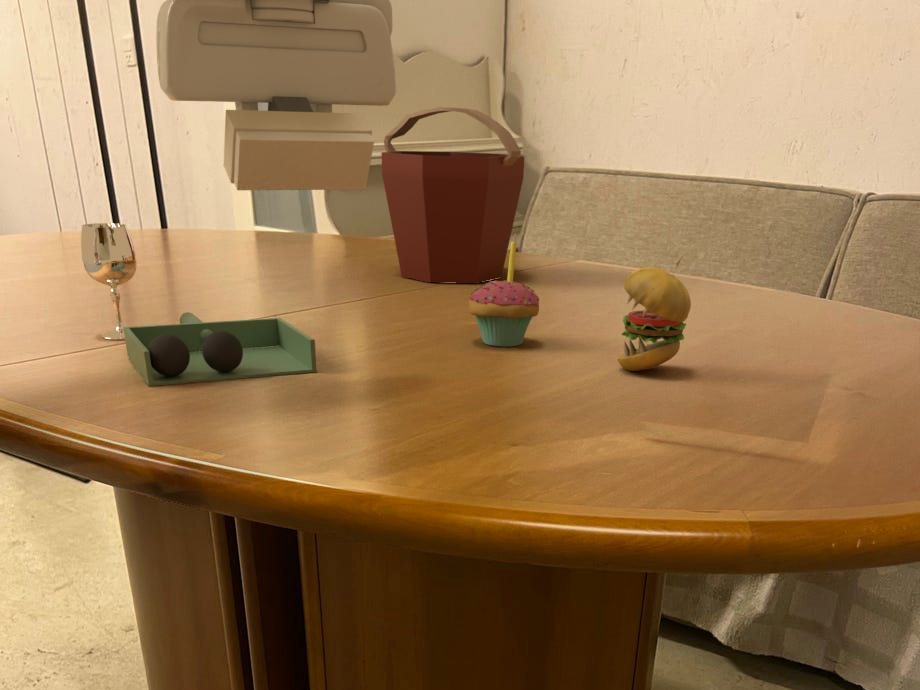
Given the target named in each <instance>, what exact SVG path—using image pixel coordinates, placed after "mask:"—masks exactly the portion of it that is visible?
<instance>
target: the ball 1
mask: <svg viewBox="0 0 920 690" xmlns="http://www.w3.org/2000/svg"><path fill="white" fill-rule="evenodd" d="M148 351H149V354H150V361H151V366H152V368H153V369H154V370H155V371H156V372H158V373H159V374H161V375H164V376H169V377H172V376H177V375H179V374H181V373H183V372H184V371H185V370H186V368H187V367H188V365H189V361H190V354H189V353H190V352H189V350H188V348H187V346H186V344H185V343H184V342H183V341H182V340H181V339H179V338H178V337H176V336H173V335H169V334H164V335H160V336H158V337H156V338H154V339H153V340H152V341H151V343H150V344H149V347H148Z"/></svg>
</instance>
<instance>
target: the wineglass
mask: <svg viewBox="0 0 920 690" xmlns="http://www.w3.org/2000/svg"><path fill="white" fill-rule="evenodd" d="M80 236H81V237H80V251H81V260H82V263H83V267H84V269H85V272H86V273H87V275H88V276H89V277H90V278H91V279H92V280H94V281H96V282H98V283H100V284H102V285H105V286H108V287H111V289H110V291H109V292H110V294H109V295H110V298H111V301H112V303H113V307H114V310H115V317H116V326H115V328H114V329H113V330H111V331H109V332H105V333H103V334H101V338H102V339H105V340H113V341H123V340H125V335H124V329H123V327H125V326H124V324H123V321H122V317H121V310H120V300H121V295H120V292H119V290H118V288H117V287H118V286H121V285H123V284H126V283H127V282H129V281H130V280H131V279H133V277H134V276H135V274H136V271H137V255H136V251H135V246H134V243H133V240H132V237H131V235H130V232H129V229H128V226H127V225H126V224H124V223H113V222H111V223H110V222H102V223H101V222H99V223H96V222H95V223H87V224H82V225H81V234H80Z"/></svg>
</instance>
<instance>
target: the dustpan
mask: <svg viewBox="0 0 920 690" xmlns="http://www.w3.org/2000/svg"><path fill="white" fill-rule="evenodd" d="M123 329H124V335H125V348H126V354H127V357H128V360H129V362H130V363H131V364H132V366H133V367H134V368H135V370H136V371H137V372H138V374H139V376H141V378H142V379H143V380H144V382H145V383H146V384H147V385H148V387H156V386H167V385H168V386H169V384H170V385H180V384H179V383H181V384H188V383H187V382H193V383H199V382H198V381H205V382H214V381H213V380H216V381H227V379H228V380H237V379H238V378H239V379H249V378H259V377H260V378H261V377H262V376H263V377H272V376H273V377H274V376H285V375H297V374H307V373H308V374H310V373H317V372H318V371H317V355H316V340H315V338H312V337H311V336H310V335H308V334H306V333H305V332H303V331H301V330H300V329H298V328H297V327H295V325H292V324H291V323H289V322H287V321H286V320H284V319H283V318H281V317H270V318H269V317H268V318H253V319H251V318H250V319H237V320H220V321H219V320H218V321H202V319H200V318H199V317H197V316H196V315H195V314H194V313H192V312H187V311H186V312H184V313H182V314H181V315H180V317H179V323H170V324H169V323H168V324H154V325H138V326H137V325H136V326H124V327H123ZM216 331H225V332H229V333H231V334H233V335H234V336H235V337H236V338H237V339H238V340H239V341H240V343H241V345H242V349H243V358H242V361H241V363H240V364H239V366H238V367H237V368H236V369H234V370H232V371H229V372H219V371H216V370H214V369H212V368H211V367H210V366H209V365H208V364H207V363H206V362H205V360H204V357H203V354H202V346H203V343H204V341H205V339H206V338H207V337H208V336H209V335H210V334H211V333H213V332H216ZM164 334H169V335H173V336H176V337H178V338H179V339H181V340H182V341H183V342H184V343H185V344H186V346H187V348H188V350H189V354H190V361H189V365H188V367H187V368H186V370H185V371H184V372H183V373H181V374H179V375H177V376H172V377H169V376H164V375H161V374H159V373H158V372H156V371H155V370H154V369H153V368H152V366H151V361H150V354H149V351H148V347H149V344H150V343H151V341H152V340H153V339H154V338H156V337H158V336H160V335H164Z"/></svg>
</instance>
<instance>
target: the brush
mask: <svg viewBox="0 0 920 690" xmlns="http://www.w3.org/2000/svg"><path fill="white" fill-rule="evenodd" d="M224 118H225V119H224V120H225V121H224V143H223V144H224V146H223V168H224V170H225V172H226V174H227V175H226V176H227V177H228V180H229V182H230V184H234V185H235V188H236V190H237V191H341V190H342V191H344V190H345V191H347V190H349V191H350V190H351V191H353V190H354V191H355V190H361V191H363V190H366V189H367V184H368V178H369V172H370V167H371V162H372V156H373V150H374V145H375V141H374V139H373V137H372V135H373V130H372V127H371V126H370V124H369V122H368V120H367V118H366V116H365V114H364V113H357V112H355V113H351V112H332V113H323V112H313V110H312V108H311V106H310V104H309V101H308V99H307V97H282V96H273V101H272V103H267V110H258V111H253V110H236V109H225V117H224Z"/></svg>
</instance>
